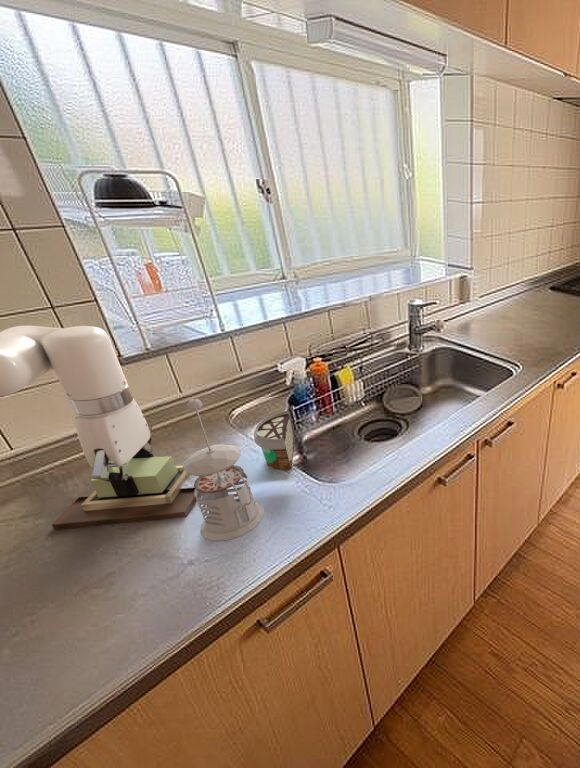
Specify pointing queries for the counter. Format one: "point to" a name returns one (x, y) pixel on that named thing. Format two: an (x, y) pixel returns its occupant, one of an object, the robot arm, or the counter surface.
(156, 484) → the green rectangular block
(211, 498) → the french press
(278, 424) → the food container
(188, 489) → the back board
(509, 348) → the counter surface
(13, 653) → the counter surface
